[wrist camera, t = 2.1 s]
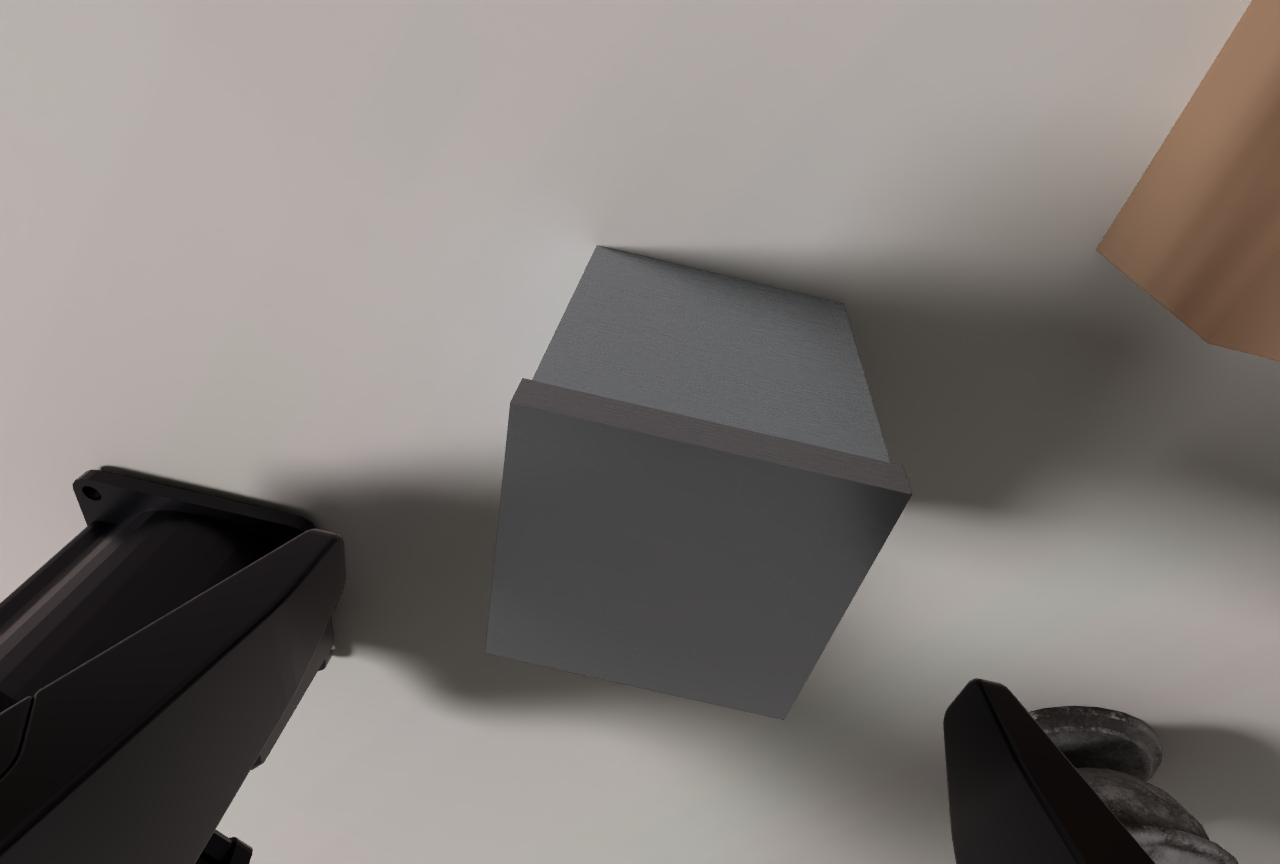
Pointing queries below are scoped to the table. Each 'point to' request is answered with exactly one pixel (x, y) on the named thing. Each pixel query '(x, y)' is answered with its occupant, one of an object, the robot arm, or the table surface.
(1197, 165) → the walnut block
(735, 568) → the slate tin
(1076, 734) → the dark grey tall piece
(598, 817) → the table surface
